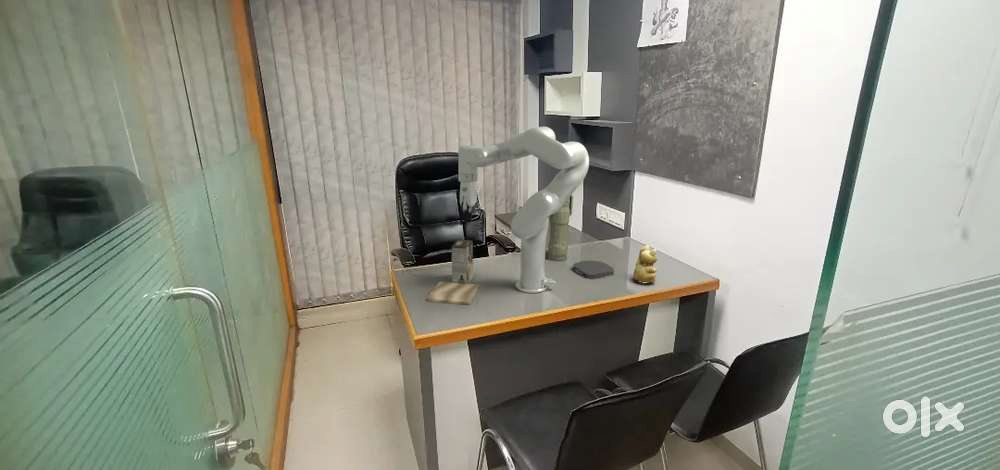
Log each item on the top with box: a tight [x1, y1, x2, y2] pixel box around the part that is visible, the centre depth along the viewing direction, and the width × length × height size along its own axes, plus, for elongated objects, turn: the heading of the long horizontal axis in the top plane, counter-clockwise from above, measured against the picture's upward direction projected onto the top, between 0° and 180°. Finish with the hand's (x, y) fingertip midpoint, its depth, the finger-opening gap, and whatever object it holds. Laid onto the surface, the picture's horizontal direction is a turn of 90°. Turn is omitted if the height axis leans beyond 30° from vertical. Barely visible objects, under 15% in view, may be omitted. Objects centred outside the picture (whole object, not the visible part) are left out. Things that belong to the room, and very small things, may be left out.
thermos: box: [547, 194, 574, 262], centre depth 208 cm, size 9×12×35 cm
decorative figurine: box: [633, 244, 658, 283], centre depth 185 cm, size 10×8×15 cm
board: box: [426, 281, 480, 306], centre depth 173 cm, size 16×16×1 cm
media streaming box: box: [572, 260, 615, 280], centre depth 197 cm, size 15×15×3 cm
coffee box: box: [450, 239, 474, 284], centre depth 183 cm, size 9×6×16 cm
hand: (467, 221), depth 188 cm, fingers closed
